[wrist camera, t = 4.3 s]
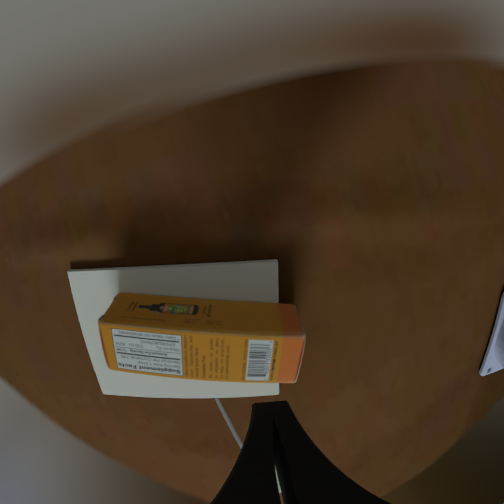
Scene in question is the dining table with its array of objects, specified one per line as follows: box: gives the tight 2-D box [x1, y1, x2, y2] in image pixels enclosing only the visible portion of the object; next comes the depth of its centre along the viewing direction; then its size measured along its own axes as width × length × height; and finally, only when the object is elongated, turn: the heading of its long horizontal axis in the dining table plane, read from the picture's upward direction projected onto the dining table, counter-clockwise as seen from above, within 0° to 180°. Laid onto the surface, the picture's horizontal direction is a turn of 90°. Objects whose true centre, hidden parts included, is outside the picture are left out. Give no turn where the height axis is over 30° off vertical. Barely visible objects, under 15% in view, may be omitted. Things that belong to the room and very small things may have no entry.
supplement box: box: [98, 292, 306, 383], centre depth 16 cm, size 3×3×10 cm
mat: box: [68, 259, 279, 398], centre depth 18 cm, size 12×9×1 cm
